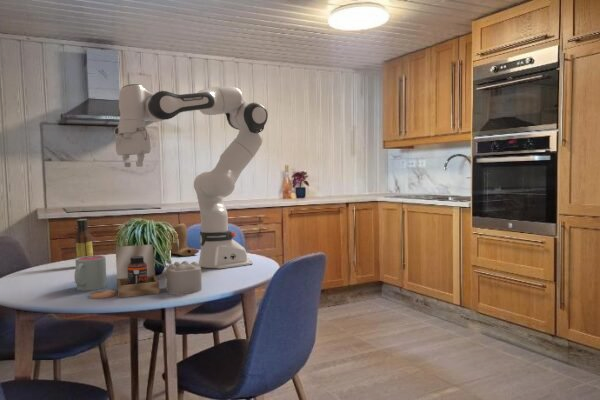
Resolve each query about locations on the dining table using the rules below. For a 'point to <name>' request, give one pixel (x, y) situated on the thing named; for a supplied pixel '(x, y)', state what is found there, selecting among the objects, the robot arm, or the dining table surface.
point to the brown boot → (182, 242)
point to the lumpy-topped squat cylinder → (183, 278)
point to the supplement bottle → (137, 270)
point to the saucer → (102, 294)
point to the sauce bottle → (83, 240)
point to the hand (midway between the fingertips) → (133, 166)
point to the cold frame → (122, 271)
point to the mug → (90, 273)
